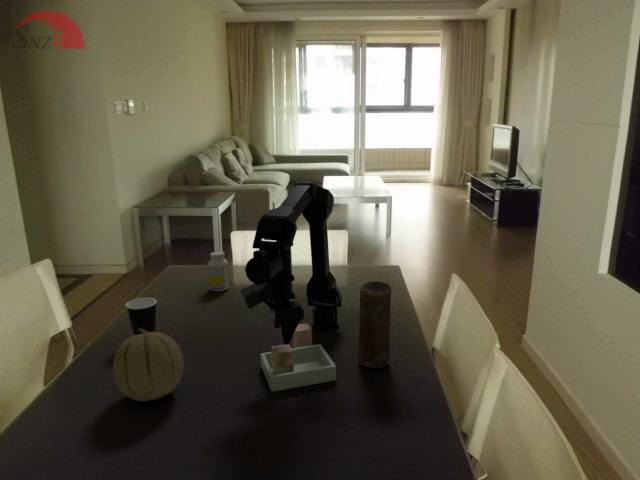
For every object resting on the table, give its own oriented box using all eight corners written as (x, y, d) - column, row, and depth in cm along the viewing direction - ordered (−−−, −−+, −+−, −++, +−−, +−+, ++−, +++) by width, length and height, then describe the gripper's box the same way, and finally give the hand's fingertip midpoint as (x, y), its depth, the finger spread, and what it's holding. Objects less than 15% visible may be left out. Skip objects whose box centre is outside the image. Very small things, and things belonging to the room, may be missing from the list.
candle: (392, 359, 126) (393, 282, 122) (386, 374, 120) (387, 292, 115) (362, 355, 129) (362, 279, 124) (354, 369, 122) (354, 289, 117)
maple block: (289, 366, 122) (288, 343, 121) (294, 374, 119) (293, 350, 117) (272, 369, 121) (271, 346, 120) (277, 377, 118) (276, 353, 116)
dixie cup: (126, 347, 136) (121, 308, 133) (135, 334, 144) (130, 297, 141) (156, 346, 136) (152, 307, 134) (164, 333, 144) (160, 296, 141)
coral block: (308, 344, 136) (307, 323, 134) (312, 350, 132) (311, 329, 131) (293, 346, 135) (292, 325, 133) (297, 353, 131) (296, 331, 130)
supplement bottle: (220, 284, 184) (217, 249, 181) (233, 287, 180) (231, 252, 177) (206, 289, 179) (203, 254, 175) (219, 293, 175) (217, 256, 172)
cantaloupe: (148, 423, 103) (139, 354, 99) (101, 402, 111) (92, 338, 107) (201, 389, 115) (195, 326, 111) (156, 372, 123) (149, 314, 119)
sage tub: (320, 356, 129) (320, 343, 128) (336, 380, 118) (335, 366, 117) (261, 366, 125) (260, 353, 124) (271, 391, 113) (270, 377, 113)
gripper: (236, 262, 120) (240, 325, 124) (249, 287, 103) (253, 359, 106) (282, 257, 123) (285, 318, 127) (303, 281, 106) (305, 351, 110)
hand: (281, 335), depth 117 cm, fingers open, 9 cm apart
